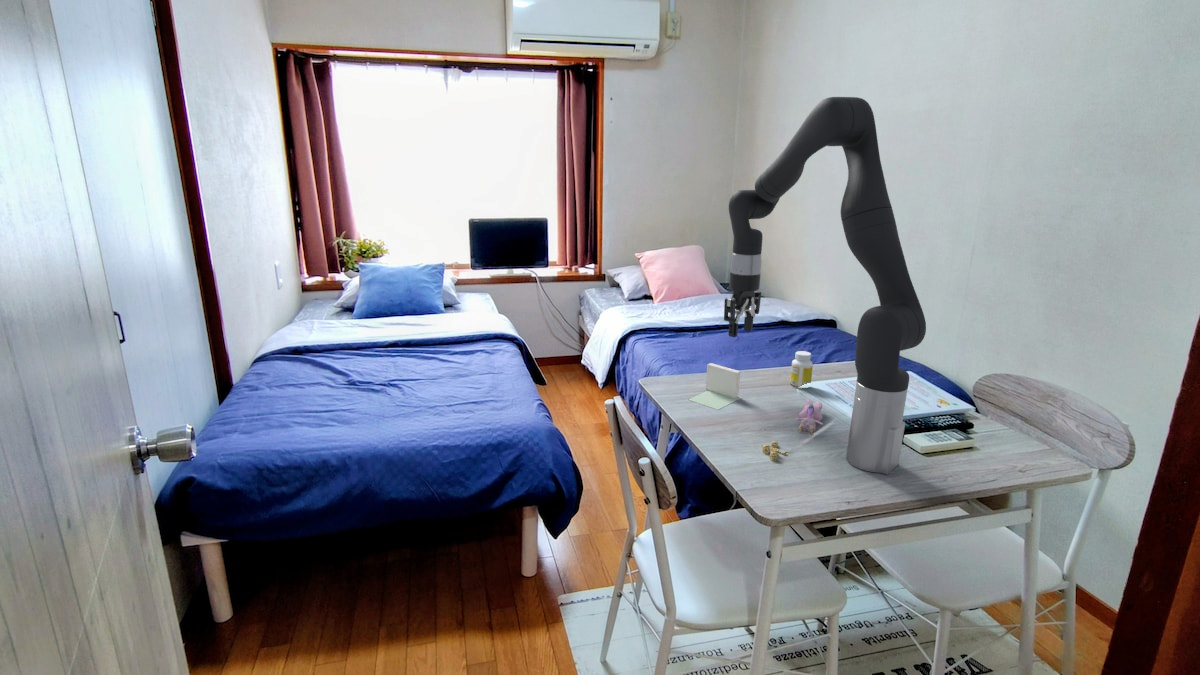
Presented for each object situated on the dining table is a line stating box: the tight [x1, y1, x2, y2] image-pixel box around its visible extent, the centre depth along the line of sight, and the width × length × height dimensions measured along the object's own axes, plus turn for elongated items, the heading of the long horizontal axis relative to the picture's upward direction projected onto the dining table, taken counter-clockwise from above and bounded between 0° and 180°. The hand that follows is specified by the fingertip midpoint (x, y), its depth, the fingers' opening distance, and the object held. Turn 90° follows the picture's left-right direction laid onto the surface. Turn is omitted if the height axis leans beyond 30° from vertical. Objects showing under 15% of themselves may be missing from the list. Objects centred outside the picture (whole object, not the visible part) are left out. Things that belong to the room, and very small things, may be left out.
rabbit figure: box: [794, 399, 824, 437], centre depth 140 cm, size 6×6×15 cm
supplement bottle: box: [789, 350, 814, 390], centre depth 162 cm, size 5×5×10 cm
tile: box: [705, 362, 741, 398], centre depth 156 cm, size 7×2×9 cm
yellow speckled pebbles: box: [761, 440, 789, 462], centre depth 127 cm, size 5×5×2 cm
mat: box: [688, 390, 743, 411], centre depth 153 cm, size 18×16×1 cm
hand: (740, 333), depth 156 cm, fingers open, 7 cm apart
